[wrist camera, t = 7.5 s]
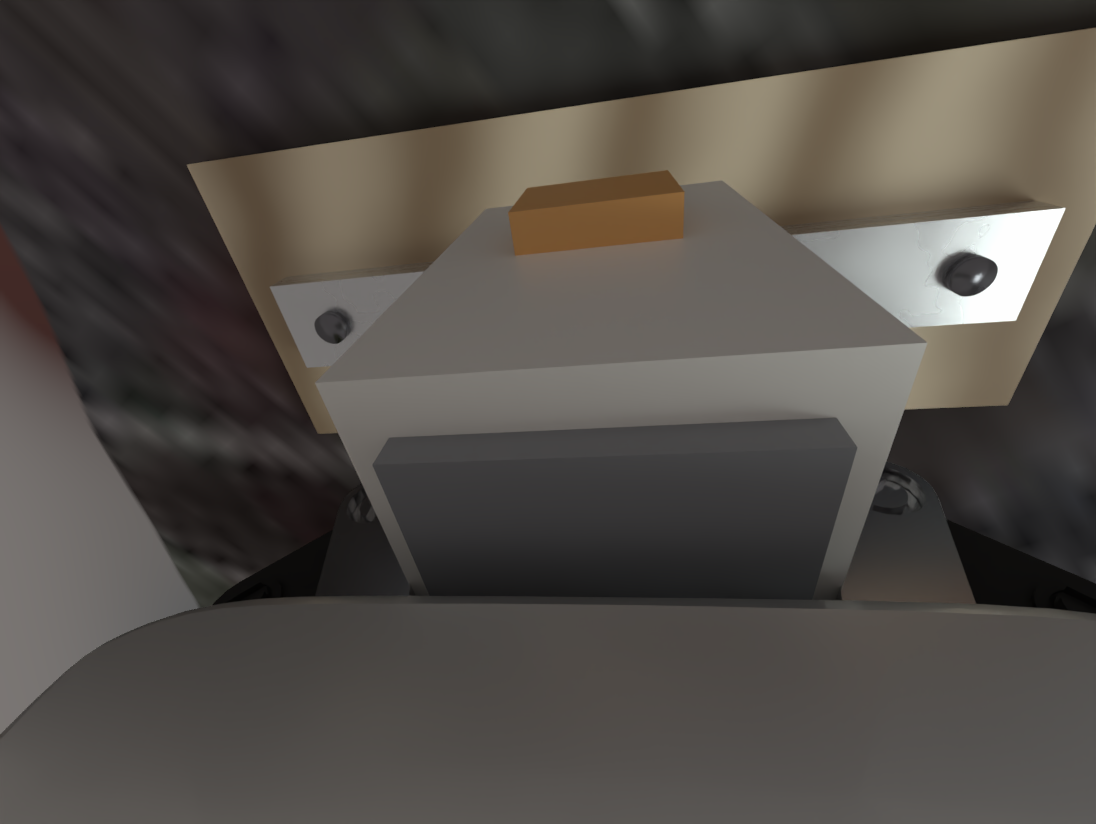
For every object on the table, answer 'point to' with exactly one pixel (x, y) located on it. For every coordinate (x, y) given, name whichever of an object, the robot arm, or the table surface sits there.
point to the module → (625, 402)
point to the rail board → (710, 179)
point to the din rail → (846, 245)
